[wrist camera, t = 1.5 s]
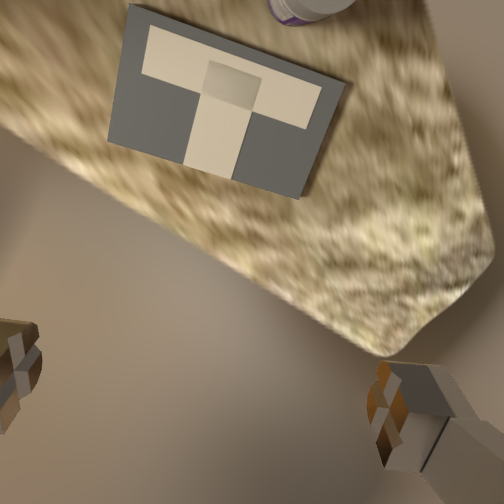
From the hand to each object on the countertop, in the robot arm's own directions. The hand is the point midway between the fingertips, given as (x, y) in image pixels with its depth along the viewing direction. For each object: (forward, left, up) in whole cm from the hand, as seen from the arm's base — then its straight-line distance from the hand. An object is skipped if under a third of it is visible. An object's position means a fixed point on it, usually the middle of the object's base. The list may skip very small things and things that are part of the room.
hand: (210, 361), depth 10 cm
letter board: (-1, +1, -33) cm, 33 cm away
